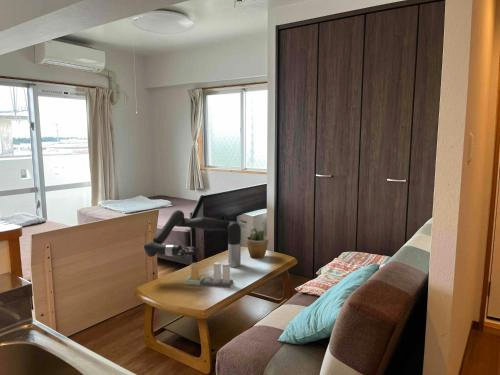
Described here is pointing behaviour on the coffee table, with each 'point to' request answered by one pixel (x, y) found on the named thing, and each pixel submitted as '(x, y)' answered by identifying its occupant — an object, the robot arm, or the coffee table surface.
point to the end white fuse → (226, 271)
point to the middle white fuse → (217, 271)
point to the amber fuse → (195, 271)
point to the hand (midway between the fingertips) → (196, 251)
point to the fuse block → (216, 282)
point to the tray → (194, 281)
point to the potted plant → (257, 243)
